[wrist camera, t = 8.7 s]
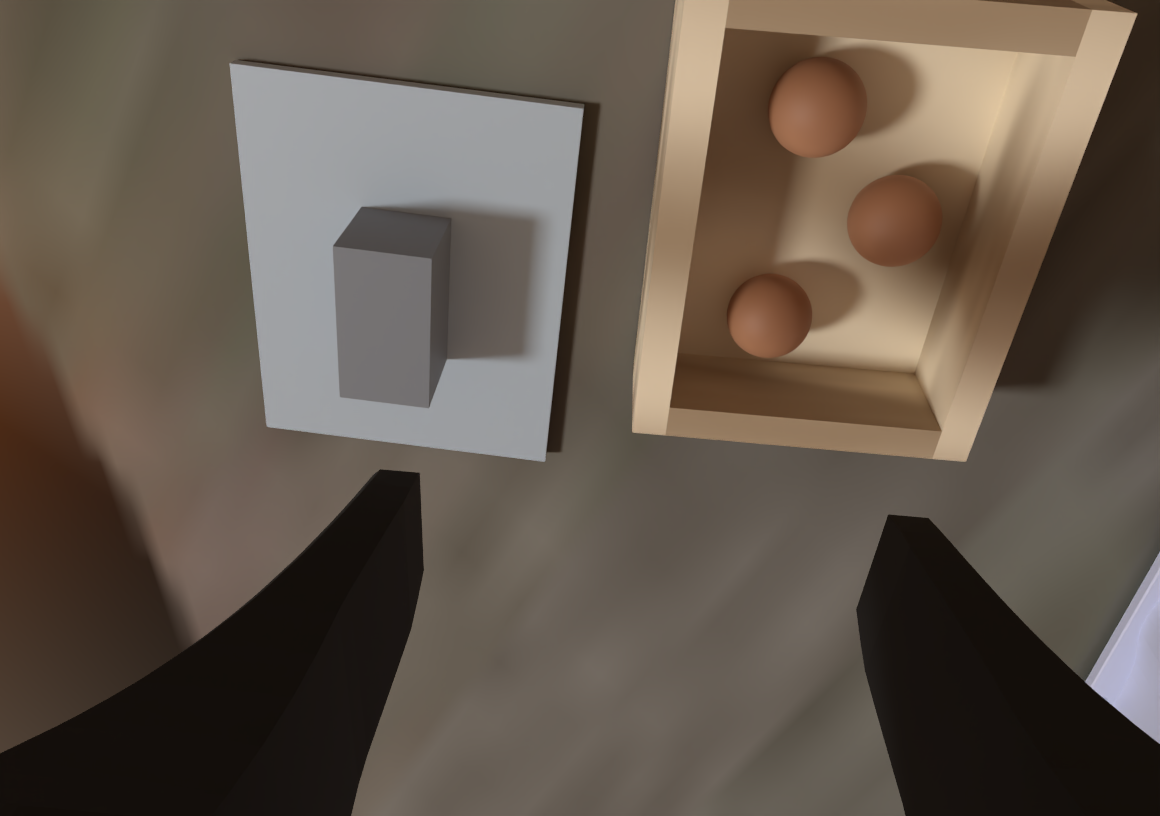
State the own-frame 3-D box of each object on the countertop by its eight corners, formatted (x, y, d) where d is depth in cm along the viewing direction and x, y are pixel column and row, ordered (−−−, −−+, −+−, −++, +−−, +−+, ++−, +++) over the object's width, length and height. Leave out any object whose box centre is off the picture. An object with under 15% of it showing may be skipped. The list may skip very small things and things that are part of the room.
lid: (548, 441, 27) (536, 516, 24) (278, 407, 27) (234, 478, 24) (585, 97, 21) (576, 141, 18) (245, 53, 21) (183, 90, 18)
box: (930, 389, 24) (965, 461, 22) (633, 363, 24) (632, 432, 22) (1067, -17, 19) (1137, 13, 16) (681, -48, 19) (687, -24, 16)
